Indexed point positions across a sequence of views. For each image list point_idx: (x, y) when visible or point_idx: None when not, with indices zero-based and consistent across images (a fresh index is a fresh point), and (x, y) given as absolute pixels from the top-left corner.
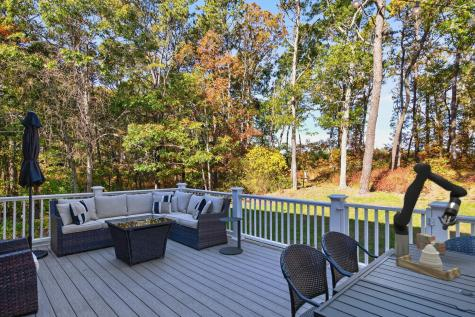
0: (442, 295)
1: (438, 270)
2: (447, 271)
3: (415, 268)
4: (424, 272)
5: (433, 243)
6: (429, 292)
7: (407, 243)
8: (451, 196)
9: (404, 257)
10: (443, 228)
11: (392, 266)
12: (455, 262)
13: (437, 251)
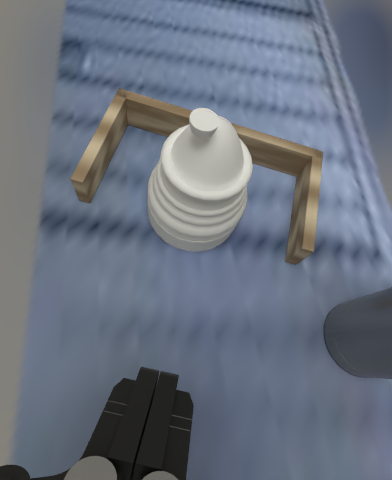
0: (127, 15)
1: (151, 99)
2: (119, 100)
3: None
4: None
5: (198, 112)
6: (157, 17)
7: (385, 306)
8: None
9: (307, 192)
10: (165, 373)
11: None
12: None
13: (174, 177)
